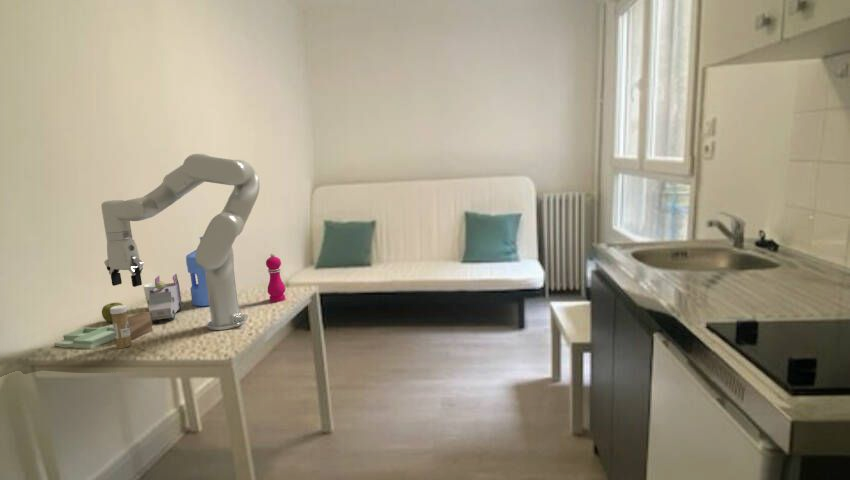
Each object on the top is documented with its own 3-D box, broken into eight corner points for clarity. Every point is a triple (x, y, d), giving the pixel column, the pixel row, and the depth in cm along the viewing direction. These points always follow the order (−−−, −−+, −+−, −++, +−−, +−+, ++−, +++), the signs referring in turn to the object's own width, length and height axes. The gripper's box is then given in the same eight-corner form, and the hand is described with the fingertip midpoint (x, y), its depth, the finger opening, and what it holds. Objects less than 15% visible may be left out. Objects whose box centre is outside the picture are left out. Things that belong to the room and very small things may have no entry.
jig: (128, 332, 178) (127, 325, 178) (91, 348, 164) (89, 340, 163) (94, 331, 182) (93, 324, 182) (54, 346, 168) (53, 339, 167)
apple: (100, 326, 188) (97, 308, 187) (107, 320, 195) (104, 302, 194) (123, 323, 190) (120, 305, 188) (129, 317, 197) (126, 299, 196)
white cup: (169, 307, 208) (165, 284, 206) (148, 311, 203) (144, 288, 202) (166, 303, 214) (163, 281, 213) (146, 307, 210) (142, 284, 208)
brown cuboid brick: (152, 331, 178) (149, 312, 177) (129, 341, 169) (126, 321, 168) (143, 331, 179) (140, 312, 178) (120, 341, 170) (116, 321, 169)
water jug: (235, 295, 222) (227, 232, 217) (226, 305, 207) (217, 238, 202) (198, 298, 220) (190, 235, 215) (187, 308, 205) (177, 241, 200)
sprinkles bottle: (131, 346, 163) (124, 307, 161) (115, 349, 161) (108, 309, 159) (133, 342, 167) (127, 303, 165) (117, 345, 166) (111, 306, 163)
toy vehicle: (148, 325, 185) (141, 286, 183) (160, 311, 204) (155, 275, 201) (175, 322, 187) (169, 283, 185) (185, 308, 206) (180, 272, 204)
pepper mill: (273, 297, 213) (268, 251, 210) (289, 297, 212) (284, 251, 209) (265, 302, 206) (260, 255, 203) (282, 302, 205) (276, 254, 202)
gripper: (147, 234, 171) (154, 283, 173) (111, 234, 177) (119, 281, 180) (127, 238, 164) (135, 289, 167) (91, 238, 170) (99, 287, 173)
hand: (127, 285), depth 173 cm, fingers open, 9 cm apart
